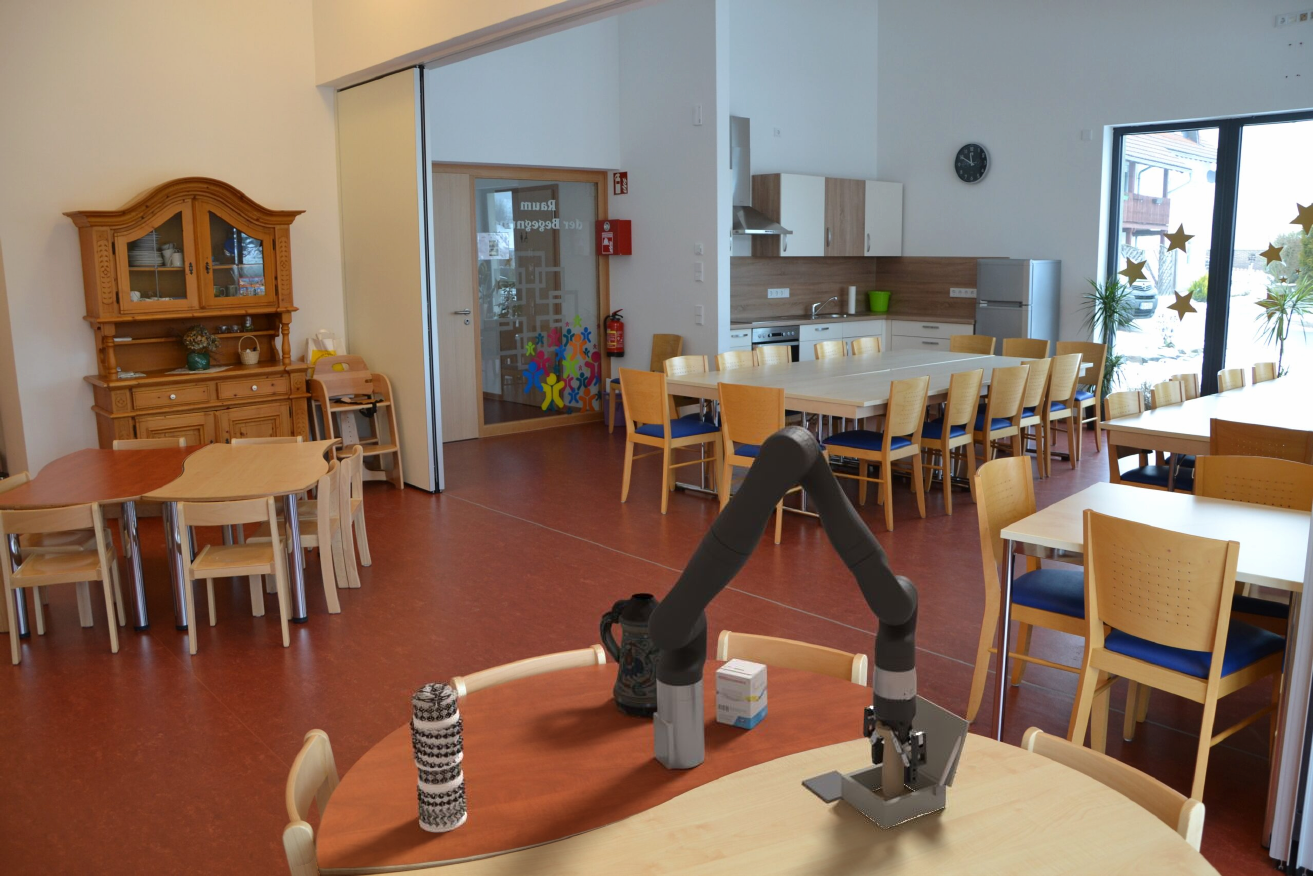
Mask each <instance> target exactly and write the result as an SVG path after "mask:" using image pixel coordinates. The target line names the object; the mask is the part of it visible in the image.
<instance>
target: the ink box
mask: <svg viewBox="0 0 1313 876" xmlns="http://www.w3.org/2000/svg"><path fill="white" fill-rule="evenodd" d="M767 669H768V668H767V665H766V664H762V663H757V662H753V661H748V660H744V659H743V660H742V659H738V658H732V659H731V660H729V661H728V662H727V663H725V664H724V665H722V666H721V667H720V668H718V669H717V670H716V671H715V695H716V696H715V698H716V699H715V703H716V722H718V723H721V724H726V725H730V726H734V727H738V728H739V727H740V728H743V729H746V730H752V729H753V728H755V726H756V725H758V724H759V723H760V722H761V721H762V720H763V719H764V718H766V717H767V716H768V680H767V679H768V678H767V673H768V672H767Z"/></svg>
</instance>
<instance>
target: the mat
mask: <svg viewBox="0 0 1313 876" xmlns="http://www.w3.org/2000/svg"><path fill="white" fill-rule="evenodd" d="M841 775H843V774H842V773H840V772H839V771H838V770H833V771H829V772H827V773H823V774H820V775H817V776H814V777H811V778H808V779H803V780H802V781H801V783H802V784H803V783H804V784H805V785H806V786H805V785H804V784H803V785H804V786H805V787H807V786H808V787H809V788H810V789H809V788H808V787H807V788H808V789H809V790H811V789H812V790H813V791H814V792H813V791H812V790H811V791H812V792H813V793H815V794H816V793H817V794H818V795H817V794H816V795H817V796H819V797H820V798H821V797H822V798H821V799H823V800H824V801H825V802H827V803H830V802H834V801H836V799H837V800H840V799H842V798H841ZM839 798H840V799H839ZM833 800H834V801H833Z"/></svg>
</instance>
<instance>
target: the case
mask: <svg viewBox="0 0 1313 876" xmlns="http://www.w3.org/2000/svg"><path fill="white" fill-rule="evenodd" d="M970 724H971V722H970V721H968V720H966V719H964V718H962V717H960V716H959V715H957V714H955V713H953V712H951V711H949V710H947V709H945V708H944V707H941V706H940V705H937V704H936V703H934V702H932V701H930V700H928V699H926V698H924V697H922V696H921V695H919V694H917V693H916V715H915V716H914V718H913V720H912V726H913V729H914V730H915V731H917V732H922V731H924V732H925V734H926V749H927V764H925V765H922V766H919V767H917V781H916V782H915V783H914V784H912V785H909V786H908V787H910V788H911V789H913V790H915V792H914V791H912V792H909V793H907V794H904V795H902V796H900V797H897V798H894V799H892V800H889V801H884V798H881V797H879V795H877V794H876V793H874V791H873V790H875V791H877V790H876V789H878V788H881V787H882V765H883V763H881V764H878V765H875V764H873V765H869V766H867V767H862V768H861V769H857V770H854V771H851V772H847V773H845V774H842V775H841V798H840V799H842V798H843V799H844V800H843V799H842V800H843V801H844V802H846V801H847V802H848V803H847V802H846V803H847V804H849V803H850V804H851V805H852V806H851V805H850V804H849V805H850V806H851V807H853V806H854V807H855V808H854V807H853V808H854V809H855V810H857V809H858V810H859V811H858V810H857V811H858V812H860V811H861V812H863V813H864V814H865V815H867V816H868V817H869V818H871V819H872V820H874V821H875V822H876V823H878V824H879V825H880V826H882V827H883V828H884V829H885V830H887V829H886V828H888V827H891V826H893V825H896V824H898V823H901V822H903V821H905V820H908V819H911V818H914V817H917V816H918V815H921V814H925V813H929V812H932V811H935V810H937V809H940V808H942V807H945V806H946V804H947V801H946V800H947V787H949V788H952V787H953V784H954V779H955V776H956V773H957V769H958V766H959V763H960V759H961V756H962V752H963V749H964V745H965V742H966V738H967V734H968V732H969V728H970ZM908 746H909V744H908V741H907V743H906V744H904V745H903V747H904V748H905V747H908ZM907 754H908V757H909V759H910V758H911V754H910V752H907ZM918 757H919V758H920V754H919V755H918ZM904 765H905V763H904ZM905 785H906V784H905ZM905 785H904V786H905ZM908 787H907V788H908ZM881 789H882V788H881ZM911 789H910V790H911ZM878 790H879V789H878ZM871 791H872V792H871ZM861 812H860V813H861ZM864 814H863V815H864ZM865 815H864V816H865ZM868 817H867V818H868ZM869 818H868V819H869ZM871 819H870V820H871ZM872 820H871V821H872ZM875 822H874V823H875ZM876 823H875V824H876ZM879 825H878V826H879ZM880 826H879V827H880ZM882 827H881V828H882ZM883 828H882V829H883ZM891 828H892V827H891ZM884 829H883V830H884ZM888 829H889V828H888Z"/></svg>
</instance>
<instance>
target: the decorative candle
mask: <svg viewBox="0 0 1313 876" xmlns="http://www.w3.org/2000/svg"><path fill="white" fill-rule="evenodd" d="M458 696H459V693H458V691H457V690H456V689H453V688H452V686H450V685H449V684H446V683H443V682H433V683H432V682H431V683H427V684H424V685H422V686H421V687H419V688H418V690H417V692H416V693H414V694H413V695H412V696H411V699H410V701H411V703H412V704H413V706H412V707H413V715H412V718H411V721H410V722H409V725H410V727H409V729H410V730H411V731H412V732H411V734H410V736H411V740H412V743H411V744H412V749H413V750H414V751H413V752H412V753H413V759H414V763H415V766H416V767H417V773H418V775H417V785H416V792H417V798H416V799H417V801H418V802H417V811H418V818H419V820H418V823H419V826H420V828H421V829H423V830H425V831H426V832H430V833H445V832H448V831H452V830H455V829H457V828H460V827H461V826H462V825H463V824H464V823H465V822H466V821H467V817H468V813H467V812H466V811H467V809H468V808H467V804H466V803H467V796H466V795H465V794H466V792H467V791H466V787H465V786H466V785H465V784H466V782H465V781H466V780H465V779H464V772H463V770H462V769H463V768H462V760H463V758H464V753H463V751H464V744H463V743H462V742H464V737H463V735H462V732H463V731H464V726H463V725H462V723H463V722H464V719H463V717H462V716H461V715H460V712H459V711H460V709H459V708H458V699H457V698H458Z"/></svg>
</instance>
